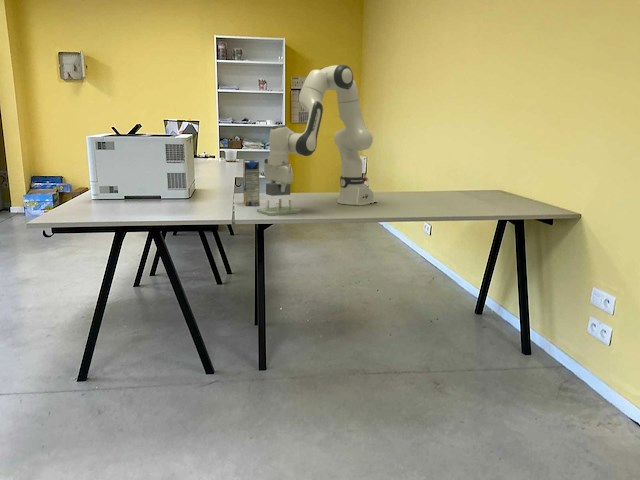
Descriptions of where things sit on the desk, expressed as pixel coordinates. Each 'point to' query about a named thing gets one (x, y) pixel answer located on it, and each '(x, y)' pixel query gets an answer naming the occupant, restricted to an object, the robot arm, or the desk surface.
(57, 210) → the desk surface
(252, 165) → the beverage box
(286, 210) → the green peg board
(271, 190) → the block
